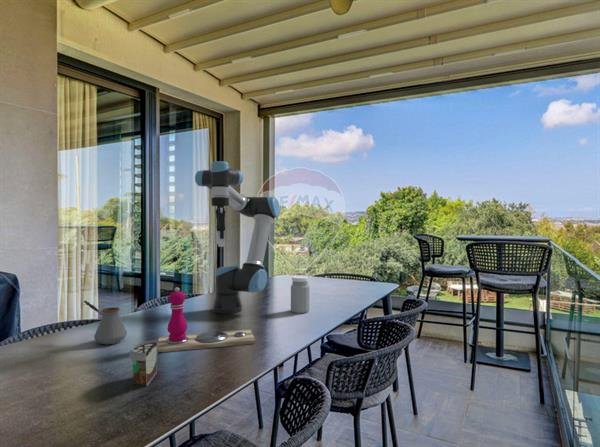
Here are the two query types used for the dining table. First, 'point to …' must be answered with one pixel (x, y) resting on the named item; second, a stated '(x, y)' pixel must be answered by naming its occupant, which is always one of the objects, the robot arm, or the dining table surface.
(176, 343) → the flange
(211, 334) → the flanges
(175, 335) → the pepper mill
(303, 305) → the jar
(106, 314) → the coffee pot
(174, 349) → the tan flat board
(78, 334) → the dining table surface
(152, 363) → the white and brown wedge
